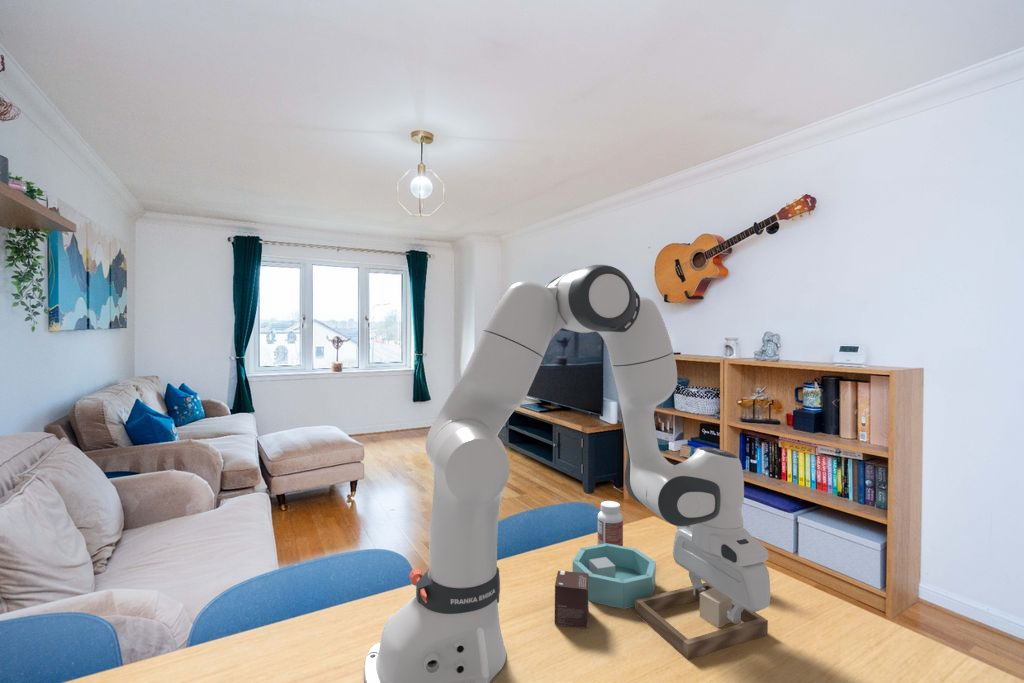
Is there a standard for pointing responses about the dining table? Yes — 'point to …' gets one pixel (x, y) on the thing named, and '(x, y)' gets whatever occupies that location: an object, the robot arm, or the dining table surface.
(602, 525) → the pill bottle
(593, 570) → the pale grey cube
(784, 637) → the dining table surface
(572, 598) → the box
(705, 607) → the beige matte cube
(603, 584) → the bowl
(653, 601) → the frame
